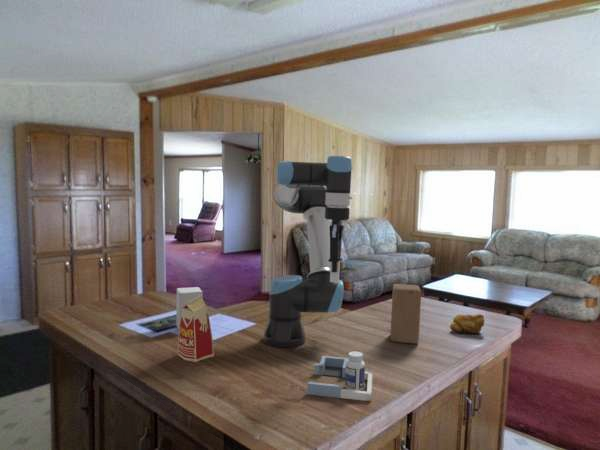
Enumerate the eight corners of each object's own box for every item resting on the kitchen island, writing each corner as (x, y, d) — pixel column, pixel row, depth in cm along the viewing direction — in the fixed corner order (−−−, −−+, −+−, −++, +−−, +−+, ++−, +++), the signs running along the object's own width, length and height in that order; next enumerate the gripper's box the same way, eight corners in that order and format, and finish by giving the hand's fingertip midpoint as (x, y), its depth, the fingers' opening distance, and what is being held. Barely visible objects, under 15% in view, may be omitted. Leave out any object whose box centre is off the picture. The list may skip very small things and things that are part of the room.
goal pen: (340, 397, 120) (340, 390, 120) (344, 376, 134) (345, 369, 134) (370, 401, 119) (371, 393, 119) (372, 378, 133) (372, 372, 133)
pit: (322, 375, 134) (322, 374, 134) (325, 366, 141) (325, 365, 141) (342, 377, 133) (342, 376, 133) (344, 368, 140) (344, 367, 140)
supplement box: (202, 330, 173) (203, 291, 172) (178, 332, 170) (179, 293, 169) (198, 323, 182) (199, 286, 180) (176, 325, 178) (176, 287, 177)
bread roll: (453, 335, 176) (454, 315, 175) (444, 327, 185) (446, 308, 185) (486, 335, 176) (487, 315, 176) (475, 328, 186) (477, 309, 185)
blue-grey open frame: (307, 394, 122) (307, 383, 122) (318, 364, 142) (318, 355, 142) (342, 398, 120) (342, 387, 120) (348, 367, 141) (348, 358, 141)
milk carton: (197, 348, 153) (197, 290, 151) (215, 355, 147) (216, 295, 146) (174, 356, 146) (174, 295, 144) (192, 363, 140) (192, 300, 139)
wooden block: (418, 345, 163) (421, 290, 162) (390, 342, 165) (392, 288, 164) (417, 336, 173) (419, 284, 171) (390, 333, 175) (392, 283, 173)
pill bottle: (360, 382, 130) (361, 349, 129) (366, 391, 125) (368, 356, 124) (342, 384, 129) (343, 350, 128) (348, 392, 124) (349, 357, 123)
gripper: (347, 208, 132) (343, 287, 135) (351, 205, 145) (348, 278, 147) (322, 207, 133) (319, 285, 136) (328, 204, 146) (325, 276, 149)
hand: (334, 281), depth 142 cm, fingers closed
